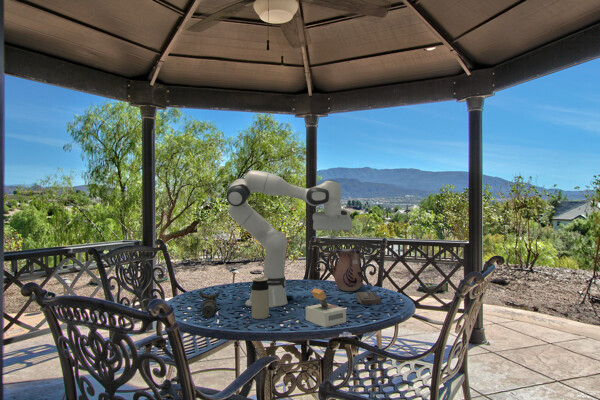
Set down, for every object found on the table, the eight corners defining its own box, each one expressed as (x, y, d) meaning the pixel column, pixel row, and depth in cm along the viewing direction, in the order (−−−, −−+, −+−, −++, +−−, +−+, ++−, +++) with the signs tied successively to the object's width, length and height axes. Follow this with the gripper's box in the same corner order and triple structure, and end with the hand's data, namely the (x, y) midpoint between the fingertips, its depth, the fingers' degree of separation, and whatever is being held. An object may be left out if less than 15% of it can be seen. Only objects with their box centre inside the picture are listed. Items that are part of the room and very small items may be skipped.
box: (374, 296, 226) (374, 291, 226) (381, 304, 208) (381, 298, 208) (355, 297, 225) (355, 291, 225) (361, 305, 208) (360, 299, 208)
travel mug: (253, 320, 181) (253, 280, 181) (250, 315, 188) (250, 277, 189) (270, 318, 183) (270, 279, 183) (266, 314, 191) (266, 276, 191)
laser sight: (197, 318, 184) (197, 297, 185) (201, 306, 206) (201, 287, 207) (218, 317, 186) (218, 296, 186) (220, 306, 208) (220, 287, 208)
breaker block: (326, 315, 187) (326, 302, 187) (346, 322, 176) (346, 308, 176) (305, 319, 180) (305, 306, 180) (325, 327, 169) (325, 312, 169)
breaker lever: (322, 303, 181) (314, 288, 179) (331, 305, 176) (323, 290, 174) (319, 306, 180) (311, 291, 177) (327, 309, 175) (319, 293, 173)
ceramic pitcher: (365, 293, 237) (365, 251, 237) (330, 293, 236) (330, 251, 237) (360, 287, 254) (360, 248, 255) (328, 287, 254) (327, 248, 254)
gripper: (311, 212, 201) (311, 239, 201) (352, 211, 198) (352, 239, 198) (313, 212, 207) (313, 238, 207) (352, 211, 204) (352, 238, 204)
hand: (332, 239), depth 202 cm, fingers closed
